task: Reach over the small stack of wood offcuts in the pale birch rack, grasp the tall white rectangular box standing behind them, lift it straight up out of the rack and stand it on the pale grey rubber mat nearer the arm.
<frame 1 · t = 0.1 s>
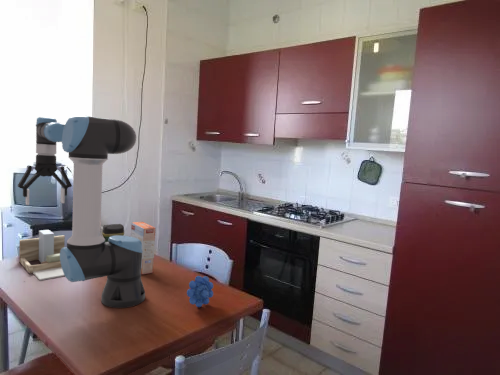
hand: (45, 203, 154), 28 cm above the table, fingers open, 13 cm apart
offcut b: (54, 260, 158), point 3 cm above the table, touching offcut a
mat: (52, 273, 150), on the table
rack: (47, 263, 161), on the table
offcut a: (54, 267, 158), resting in rack, touching offcut b
coffee jar: (112, 263, 168), on the table
white rectangular box: (46, 261, 163), resting in rack
cracker box: (141, 269, 163), on the table
blue knobbly flower shape: (201, 308, 129), on the table
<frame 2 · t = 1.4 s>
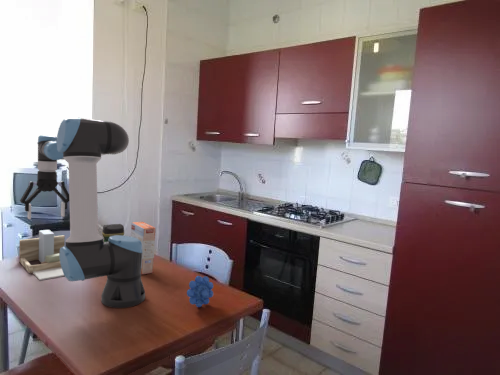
hand: (46, 217, 161), 21 cm above the table, fingers open, 13 cm apart
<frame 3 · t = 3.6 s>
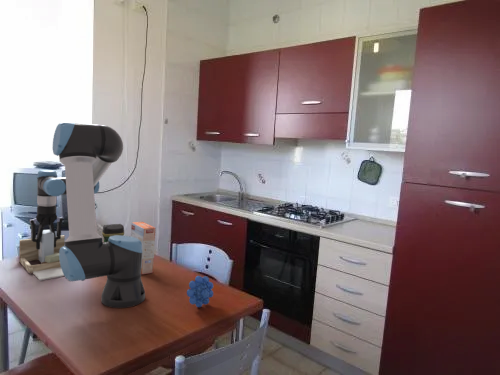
hand: (46, 255, 163), 3 cm above the table, fingers closed on white rectangular box, 4 cm apart
white rectangular box: (45, 261, 163), resting in rack, touching gripper
everything else where it was.
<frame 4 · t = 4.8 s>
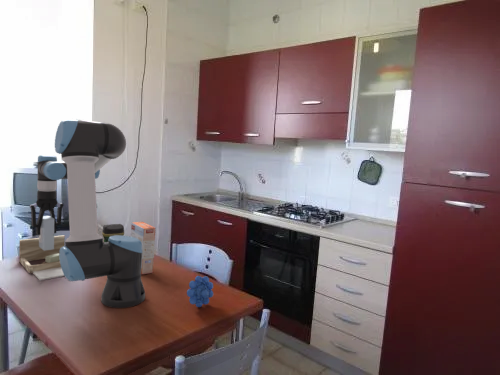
hand: (46, 241, 162), 10 cm above the table, fingers closed on white rectangular box, 4 cm apart
offcut b: (54, 260, 158), point 3 cm above the table, touching offcut a, rack
white rectangular box: (46, 247, 162), point 7 cm above the table, touching gripper
everything else where it was.
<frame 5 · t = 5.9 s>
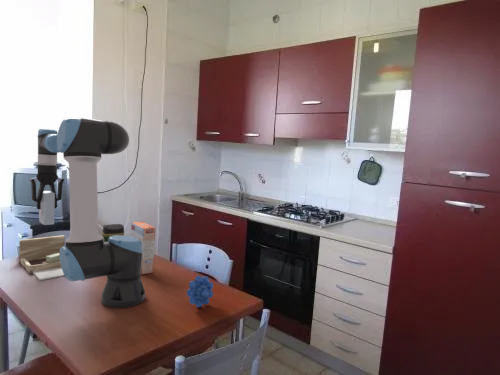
hand: (46, 215, 161), 21 cm above the table, fingers closed on white rectangular box, 4 cm apart
offcut b: (54, 260, 158), point 3 cm above the table, touching offcut a
offcut a: (54, 268, 157), resting in rack, touching offcut b
white rectangular box: (46, 222, 161), point 18 cm above the table, touching gripper
everything else where it was.
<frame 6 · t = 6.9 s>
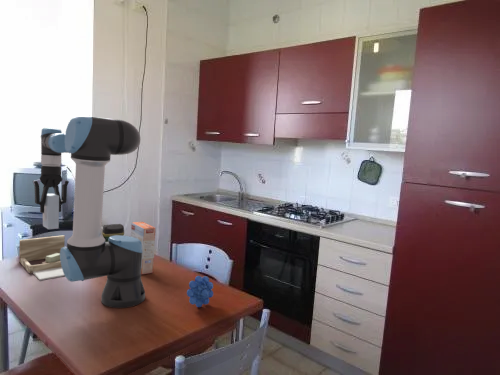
hand: (50, 219, 153), 22 cm above the table, fingers closed on white rectangular box, 4 cm apart
white rectangular box: (50, 227, 153), point 19 cm above the table, touching gripper
everything else where it was.
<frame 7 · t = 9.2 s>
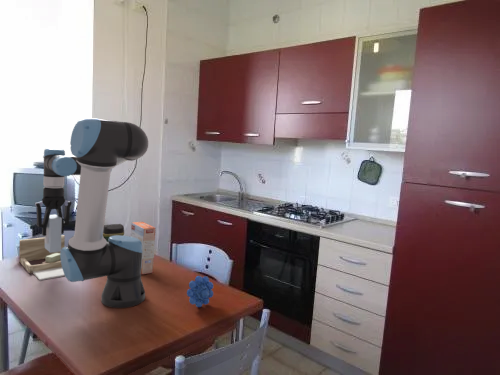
hand: (52, 242, 148), 14 cm above the table, fingers closed on white rectangular box, 4 cm apart
offcut a: (54, 268, 157), resting in rack, touching offcut b
white rectangular box: (52, 249, 149), point 10 cm above the table, touching gripper
everything else where it was.
when the fingers open (5 cm above the table, at t = 11.1 s): white rectangular box stays where it is, resting on mat.
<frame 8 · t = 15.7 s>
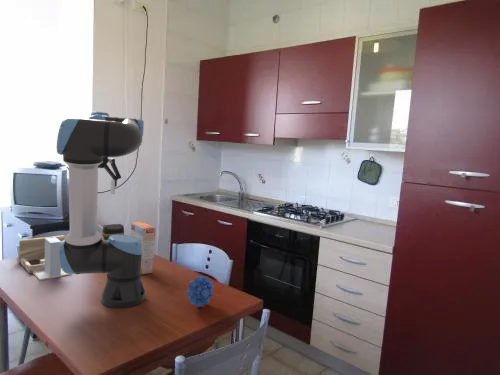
hand: (97, 194, 161), 33 cm above the table, fingers open, 13 cm apart
offcut b: (49, 263, 158), point 1 cm above the table, tilted 90°
offcut a: (54, 267, 157), resting in rack
white rectangular box: (52, 272, 149), point 1 cm above the table, touching mat
everything else where it was.
at the end: white rectangular box inside the target area on the mat (0.0 cm from its centre), point 0.6 cm above the mat's base; white rectangular box tilted 0°; the gripper is holding nothing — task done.
